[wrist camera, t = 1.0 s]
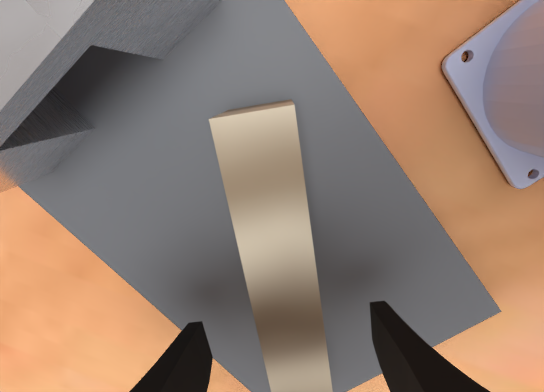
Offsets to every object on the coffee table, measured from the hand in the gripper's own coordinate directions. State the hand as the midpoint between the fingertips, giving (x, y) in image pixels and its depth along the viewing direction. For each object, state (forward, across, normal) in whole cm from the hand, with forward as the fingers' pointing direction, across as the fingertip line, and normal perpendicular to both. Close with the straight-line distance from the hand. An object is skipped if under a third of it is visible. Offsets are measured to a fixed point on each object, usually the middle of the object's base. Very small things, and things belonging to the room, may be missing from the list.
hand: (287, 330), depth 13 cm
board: (+6, +2, -4) cm, 7 cm away
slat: (+5, 0, 0) cm, 5 cm away
